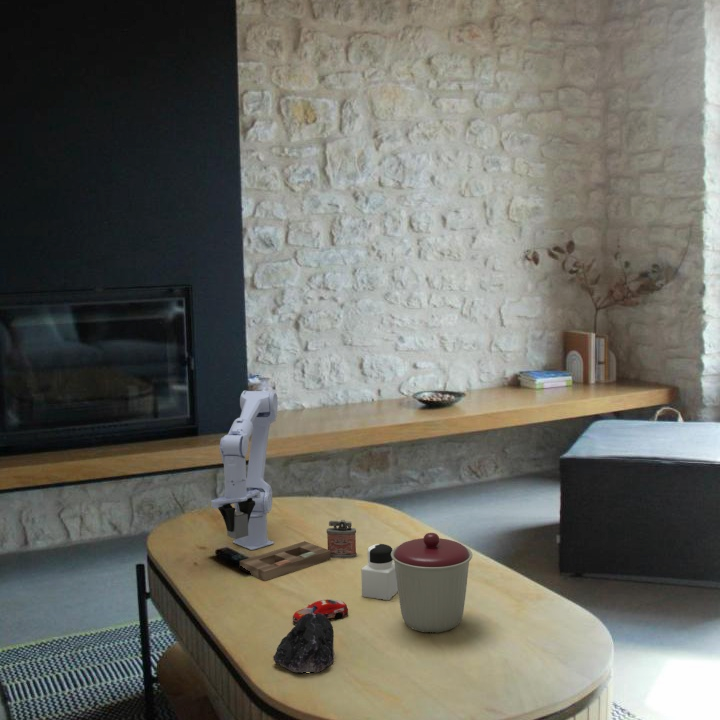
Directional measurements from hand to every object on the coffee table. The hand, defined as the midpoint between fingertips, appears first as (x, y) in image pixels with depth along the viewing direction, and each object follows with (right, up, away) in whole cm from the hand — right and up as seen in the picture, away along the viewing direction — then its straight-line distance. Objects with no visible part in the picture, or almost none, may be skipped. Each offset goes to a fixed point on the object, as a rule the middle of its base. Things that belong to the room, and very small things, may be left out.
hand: (237, 528), depth 254 cm
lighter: (+28, -8, +5) cm, 30 cm away
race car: (+24, -15, -36) cm, 46 cm away
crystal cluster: (+22, -17, -57) cm, 64 cm away
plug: (0, -2, 0) cm, 2 cm away
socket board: (+13, -9, -1) cm, 16 cm away
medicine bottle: (+38, -12, -22) cm, 46 cm away
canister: (+49, -14, -40) cm, 65 cm away
